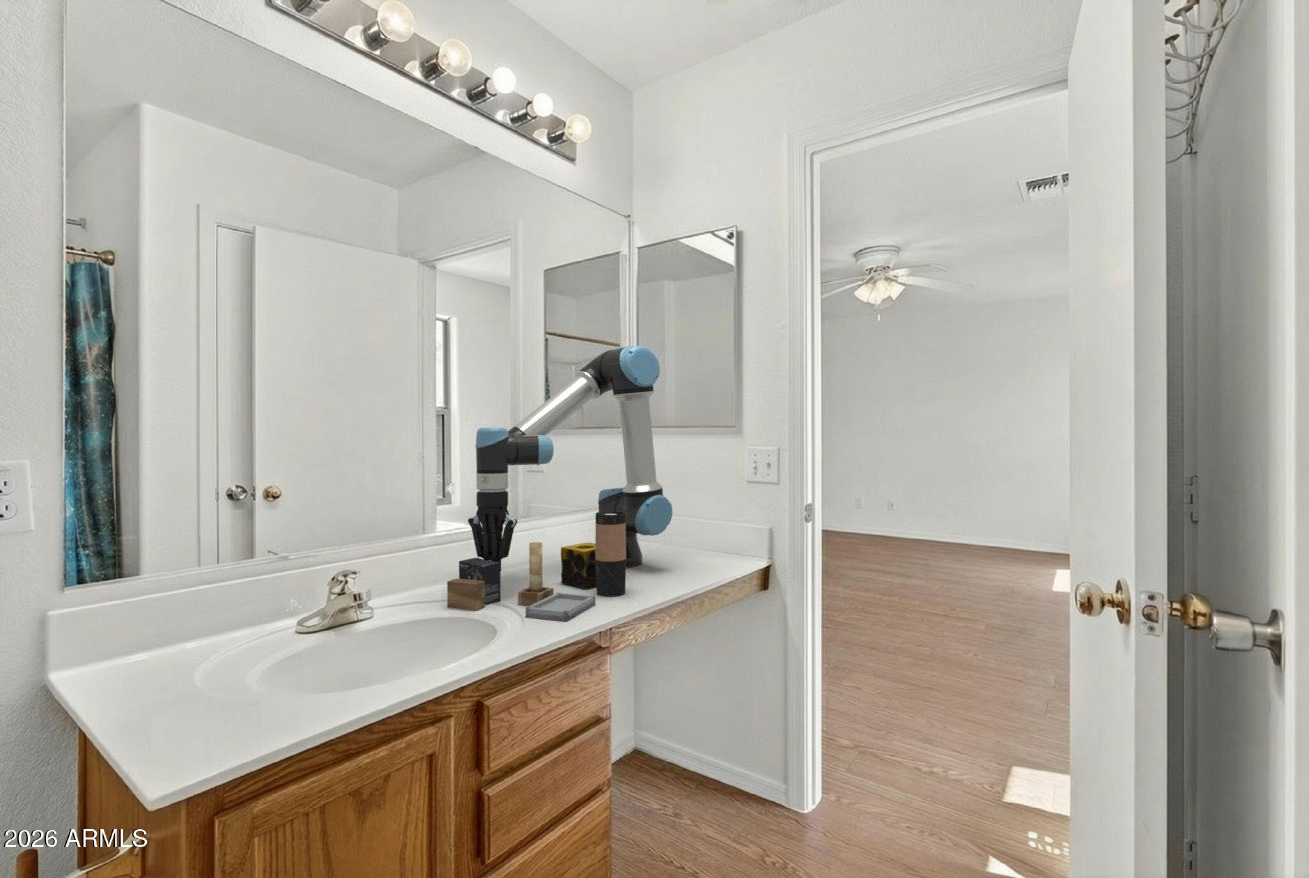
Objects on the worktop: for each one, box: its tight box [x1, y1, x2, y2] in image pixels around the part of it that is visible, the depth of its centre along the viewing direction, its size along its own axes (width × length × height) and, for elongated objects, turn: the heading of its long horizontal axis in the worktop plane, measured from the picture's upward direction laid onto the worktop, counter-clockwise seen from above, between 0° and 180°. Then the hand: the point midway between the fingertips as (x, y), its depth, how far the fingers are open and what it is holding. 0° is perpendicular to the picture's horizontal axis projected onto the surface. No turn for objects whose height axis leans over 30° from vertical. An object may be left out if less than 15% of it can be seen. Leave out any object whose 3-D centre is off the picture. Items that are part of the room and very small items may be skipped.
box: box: [458, 557, 502, 606], centre depth 150 cm, size 9×6×10 cm, turn 52°
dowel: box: [528, 541, 543, 593], centre depth 148 cm, size 3×3×14 cm
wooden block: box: [446, 578, 486, 612], centre depth 144 cm, size 3×8×6 cm, turn 70°
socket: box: [517, 586, 555, 607], centre depth 148 cm, size 6×6×3 cm
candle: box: [560, 542, 596, 590], centre depth 167 cm, size 10×10×10 cm
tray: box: [525, 592, 596, 623], centre depth 141 cm, size 14×10×2 cm
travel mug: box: [595, 511, 627, 598], centre depth 157 cm, size 8×8×20 cm
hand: (492, 586), depth 154 cm, fingers closed
